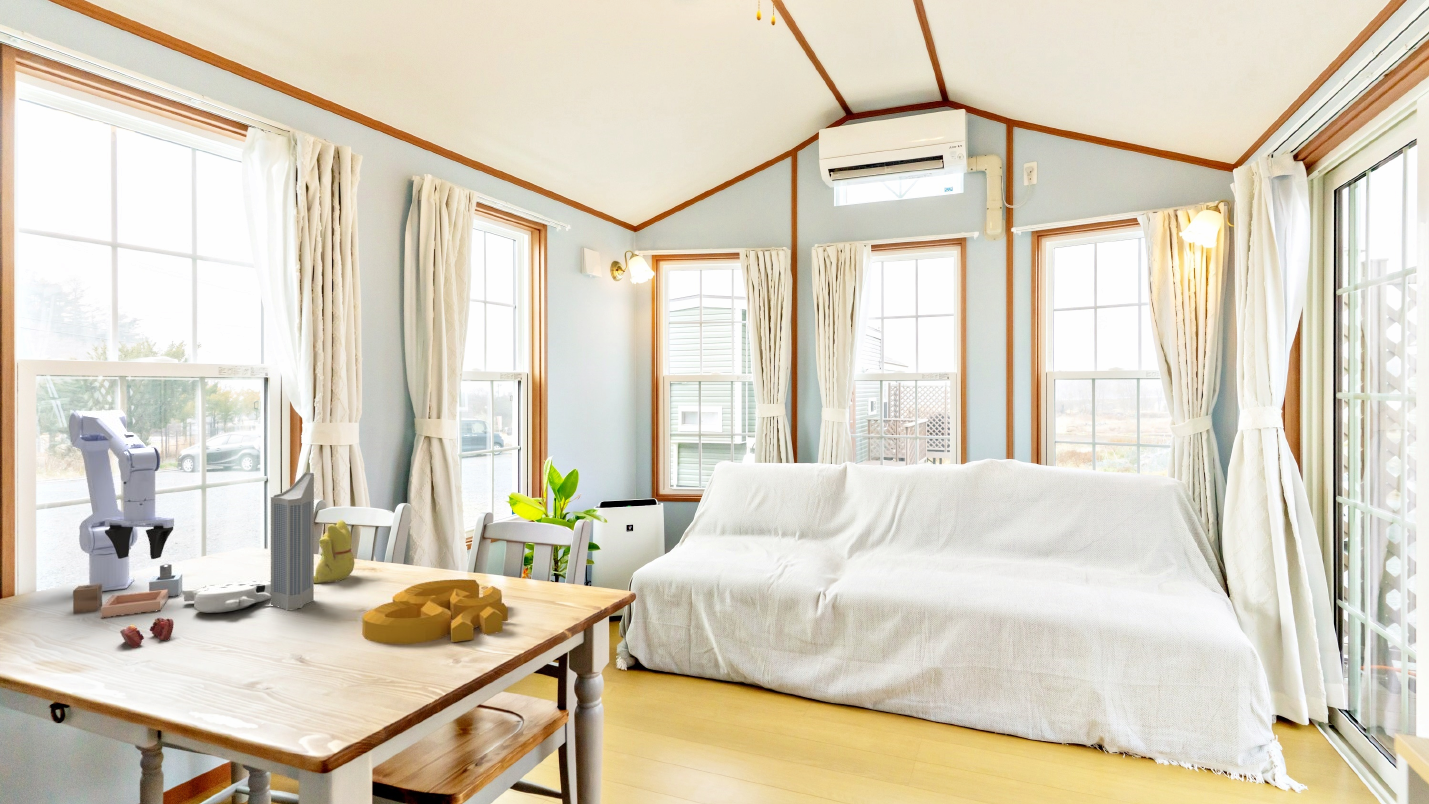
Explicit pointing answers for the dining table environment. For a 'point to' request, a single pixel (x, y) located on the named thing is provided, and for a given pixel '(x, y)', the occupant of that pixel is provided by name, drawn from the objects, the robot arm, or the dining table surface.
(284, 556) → the building model
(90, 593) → the walnut block
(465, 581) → the decorative symbol
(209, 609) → the toy
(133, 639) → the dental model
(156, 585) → the slate block
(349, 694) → the dining table surface
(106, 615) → the tray
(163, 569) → the pin
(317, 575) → the figurine
